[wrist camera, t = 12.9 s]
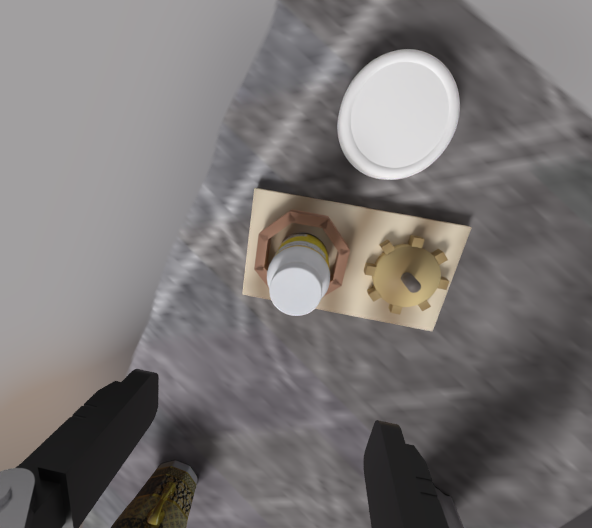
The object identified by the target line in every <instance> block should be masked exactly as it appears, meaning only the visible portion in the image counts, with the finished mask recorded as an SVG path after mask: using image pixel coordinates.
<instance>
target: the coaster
mask: <svg viewBox="0 0 592 528" xmlns="http://www.w3.org/2000/svg"><path fill="white" fill-rule="evenodd" d="M459 112H460V98H459V92H458V88H457V85H456V82H455V80H454V78H453V76H452V74H451V73H450V71H449V70H448V68H447V67H446V66H445V65H444V64H443V63H442V62H441V61H440V60H438V59H437V58H436V57H434V56H432V55H431V54H428V53H426V52H424V51H419V50H414V49H402V50H396V51H392V52H389V53H386V54H384V55H381V56H379V57H378V58H376V59H374V60H372V61H371V62H370V63H369V64H367V65H366V66H365V67H364V68H363V69H362V70H361V71H360V72H359V73H358V74H357V75H356V76H355V78H354V79H353V80H352V82H351V83H350V85H349V87H348V89H347V91H346V93H345V95H344V98H343V100H342V103H341V107H340V111H339V116H338V124H337V130H338V139H339V143H340V146H341V149H342V151H343V153H344V155H345V156H346V158H347V159H348V161H349V162H350V163H351V164H352V165H353V166H354V167H355V168H356V169H357V170H358V171H360V172H361V173H363V174H365V175H367V176H370V177H373V178H377V179H389V180H391V179H401V178H406V177H409V176H412V175H414V174H416V173H419V172H420V171H422V170H424V169H425V168H427V167H428V166H429V165H431V164H432V163H433V162H434V161H435V160H436V159H437V158H438V157H439V156H440V155H441V154H442V153H443V151H444V150H445V149H446V147H447V146H448V144H449V143H450V141H451V139H452V137H453V135H454V132H455V130H456V127H457V123H458V119H459Z"/></svg>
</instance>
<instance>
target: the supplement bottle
mask: <svg viewBox="0 0 592 528" xmlns="http://www.w3.org/2000/svg"><path fill="white" fill-rule="evenodd" d="M267 283H268V287H269V293H270V298H271V300H272V302H273V304H274V305H275V306H276V307H277V308H278V309H279V310H280V311H282V312H283V313H286V314H288V315H293V316H300V315H305V314H307V313H310V312H311V311H313V310H314V309H315V308H316V307H317V306H318V304H319V303H320V300H321V299H322V297H323V296H324V295H325V293H326V292H327V290H328V287H329V284H330V269H329V260H328V253H327V249H326V247H325V245H324V243H323V242H322V241H321V240H320V239H319V238H318V237H316V236H315V235H312V234H310V233H305V232H300V233H295V234H292V235H290V236H288V237H287V238H286V239H285V240H284V241H283V242H282V243H281V245H280V247H279V248H278V250H277V252H276V254H275V256H274V258H273V259H272V261H271V263H270V265H269V267H268V271H267Z"/></svg>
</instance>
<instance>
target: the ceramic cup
mask: <svg viewBox="0 0 592 528" xmlns="http://www.w3.org/2000/svg"><path fill="white" fill-rule="evenodd" d="M197 480H198V479H197V476H196V474H195V473H194V471H193V470H192V468H191V467H190V466H189V465H187V464H184V463H181V462H179V461H176V460H174V461H170V462H166V463H162V464H161V465H160V466H159V467H158V468H157V469H156V470H155V472H154V473H153V474H152V476H151V477H150V478H149V480H148V481H147V482H146V484H145V485H144V486H143V487H142V489H141V490H140V491H139V493H138V494H137V495H136V497H135V498H134V499H133V500H132V502H131V503H130V504H129V505H128V506H127V507H126V508H125V510H124V511H123V512H122V514H121V515H120V516H119V517H118V519H117V520H116V521H115V523H114V524H113V525H112V527H111V528H186V526H187V520H188V516H189V512H190V508H191V504H192V500H193V496H194V492H195V489H196V484H197Z"/></svg>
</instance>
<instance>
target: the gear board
mask: <svg viewBox="0 0 592 528" xmlns="http://www.w3.org/2000/svg"><path fill="white" fill-rule="evenodd" d="M471 228H472V227H469V226H466V225H461V224H455V223H450V222H444V221H438V220H433V219H427V218H422V217H416V216H411V215H405V214H400V213H394V212H388V211H383V210H377V209H372V208H366V207H361V206H355V205H350V204H344V203H338V202H333V201H327V200H322V199H316V198H311V197H305V196H299V195H294V194H288V193H283V192H277V191H272V190H266V189H261V188H254V197H253V206H252V214H251V223H250V232H249V240H248V249H247V258H246V267H245V275H244V284H243V293H242V294H243V295H249V296H254V297H259V298H264V299H269V300H271V298H270V293H269V287H268V283H267V271H268V267H269V265H270V263H271V261H272V259H273V258H274V256H275V254H276V252H277V250H278V248H279V247H280V245H281V243H282V242H283V241H284V240H285V239H286V238H287V237H288V236H290V235H292V234H295V233H300V232H305V233H310V234H312V235H315V236H316V237H318V238H319V239H320V240H321V241H322V242H323V243H324V245H325V247H326V249H327V253H328V260H329V269H330V284H329V287H328V290H327V292H326V293H325V295H324V296H323V297H322V299H321V300H320V303H319V304H318V306H317V307H316V308H315V309H320V310H325V311H331V312H336V313H341V314H346V315H351V316H356V317H361V318H367V319H372V320H377V321H382V322H387V323H392V324H397V325H402V326H408V327H413V328H418V329H423V330H428V331H433V329H434V326H435V323H436V321H437V318H438V315H439V313H440V310H441V307H442V305H443V302H444V299H445V297H446V294H447V291H448V289H449V286H450V283H451V281H452V278H453V275H454V273H455V270H456V267H457V265H458V262H459V259H460V257H461V254H462V251H463V249H464V246H465V243H466V241H467V238H468V235H469V233H470V230H471Z"/></svg>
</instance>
